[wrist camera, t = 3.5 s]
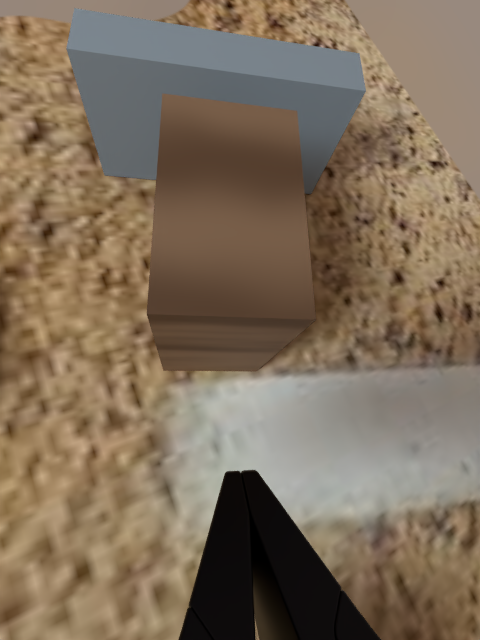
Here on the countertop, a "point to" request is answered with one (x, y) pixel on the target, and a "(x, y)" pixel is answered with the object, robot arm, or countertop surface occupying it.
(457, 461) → the countertop surface
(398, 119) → the countertop surface
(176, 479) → the countertop surface
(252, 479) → the robot arm
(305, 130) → the slate board
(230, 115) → the walnut box
